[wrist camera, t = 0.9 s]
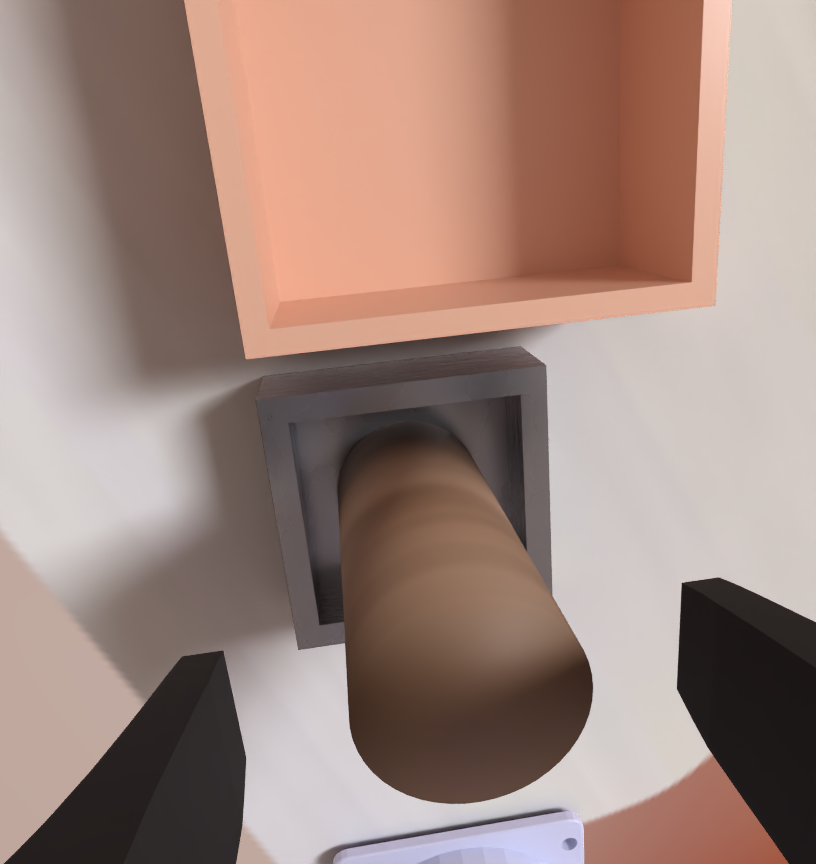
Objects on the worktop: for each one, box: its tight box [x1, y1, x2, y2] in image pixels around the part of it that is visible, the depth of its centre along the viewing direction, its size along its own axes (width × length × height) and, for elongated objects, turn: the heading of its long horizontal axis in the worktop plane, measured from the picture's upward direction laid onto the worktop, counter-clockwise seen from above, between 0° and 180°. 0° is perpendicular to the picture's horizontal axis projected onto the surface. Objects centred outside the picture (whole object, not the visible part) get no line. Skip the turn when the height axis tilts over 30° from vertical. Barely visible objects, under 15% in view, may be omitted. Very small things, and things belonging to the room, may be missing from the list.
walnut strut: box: [337, 422, 593, 804], centre depth 14 cm, size 4×4×8 cm
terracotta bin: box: [184, 0, 732, 359], centre depth 13 cm, size 9×9×4 cm
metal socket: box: [256, 346, 552, 650], centre depth 17 cm, size 6×6×2 cm
